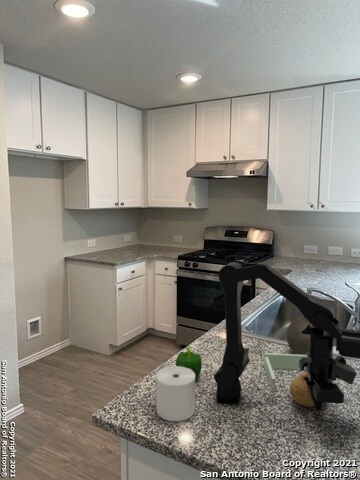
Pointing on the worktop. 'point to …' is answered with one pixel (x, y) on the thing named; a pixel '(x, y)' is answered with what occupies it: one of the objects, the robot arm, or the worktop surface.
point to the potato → (301, 391)
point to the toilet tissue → (175, 393)
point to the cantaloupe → (298, 336)
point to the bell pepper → (190, 361)
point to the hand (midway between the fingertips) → (318, 409)
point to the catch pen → (282, 365)
